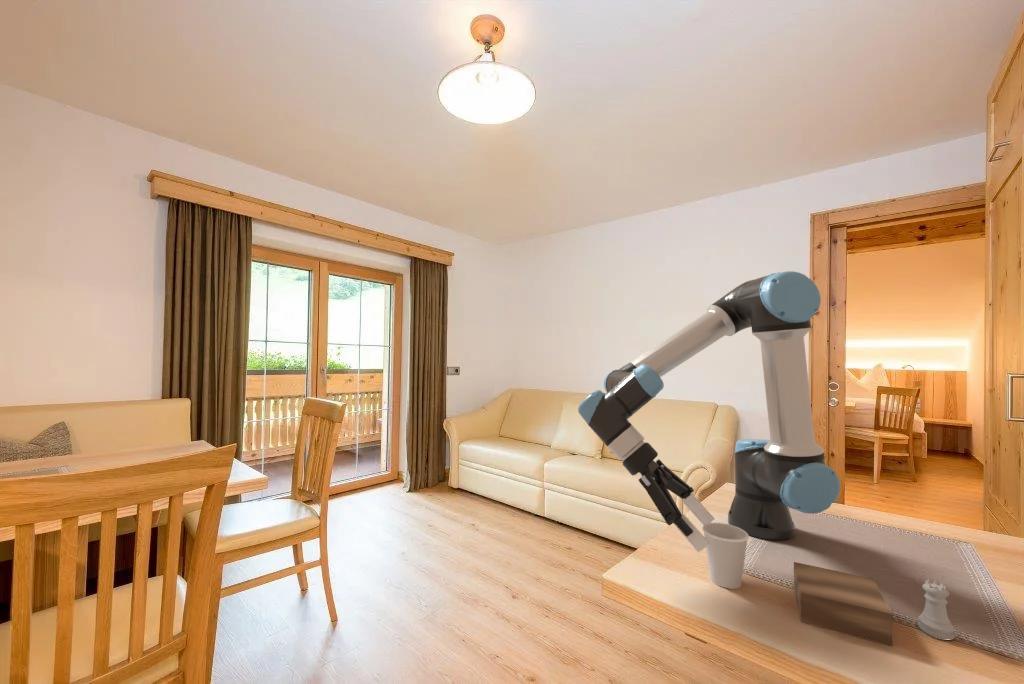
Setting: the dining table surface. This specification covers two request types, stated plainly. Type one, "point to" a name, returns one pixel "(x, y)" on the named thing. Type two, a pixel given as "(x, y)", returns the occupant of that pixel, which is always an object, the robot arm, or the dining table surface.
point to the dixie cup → (725, 553)
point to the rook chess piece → (936, 612)
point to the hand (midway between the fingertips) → (707, 534)
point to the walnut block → (842, 603)
